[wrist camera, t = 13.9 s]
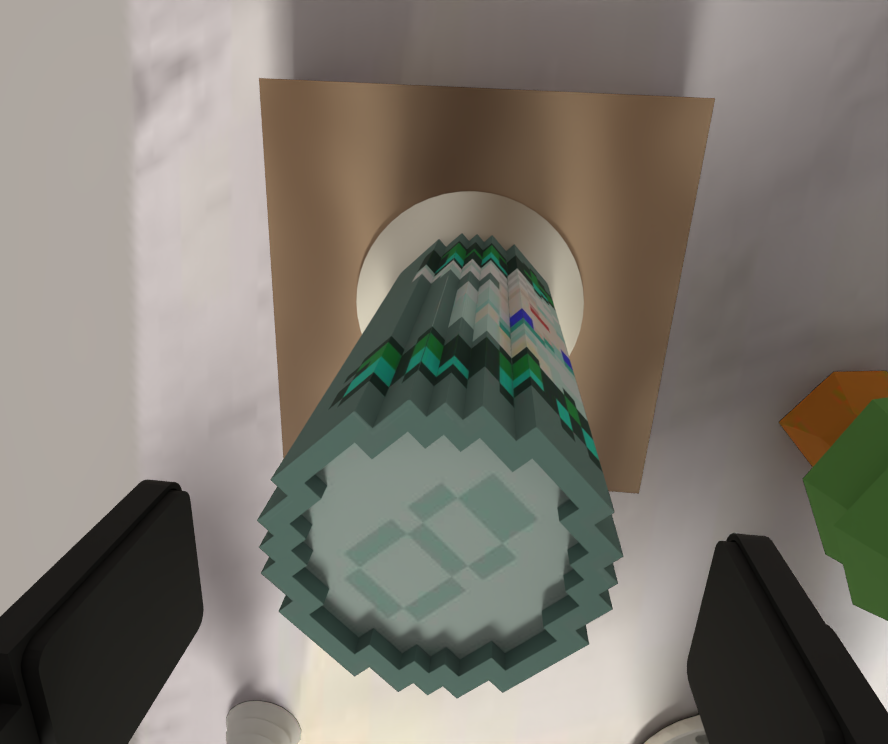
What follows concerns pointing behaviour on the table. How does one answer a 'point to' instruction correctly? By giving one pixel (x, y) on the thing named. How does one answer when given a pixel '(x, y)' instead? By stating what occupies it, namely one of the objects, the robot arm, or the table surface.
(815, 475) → the decorative tree
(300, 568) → the can
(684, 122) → the walnut base
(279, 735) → the chalice
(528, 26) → the table surface
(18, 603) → the robot arm
